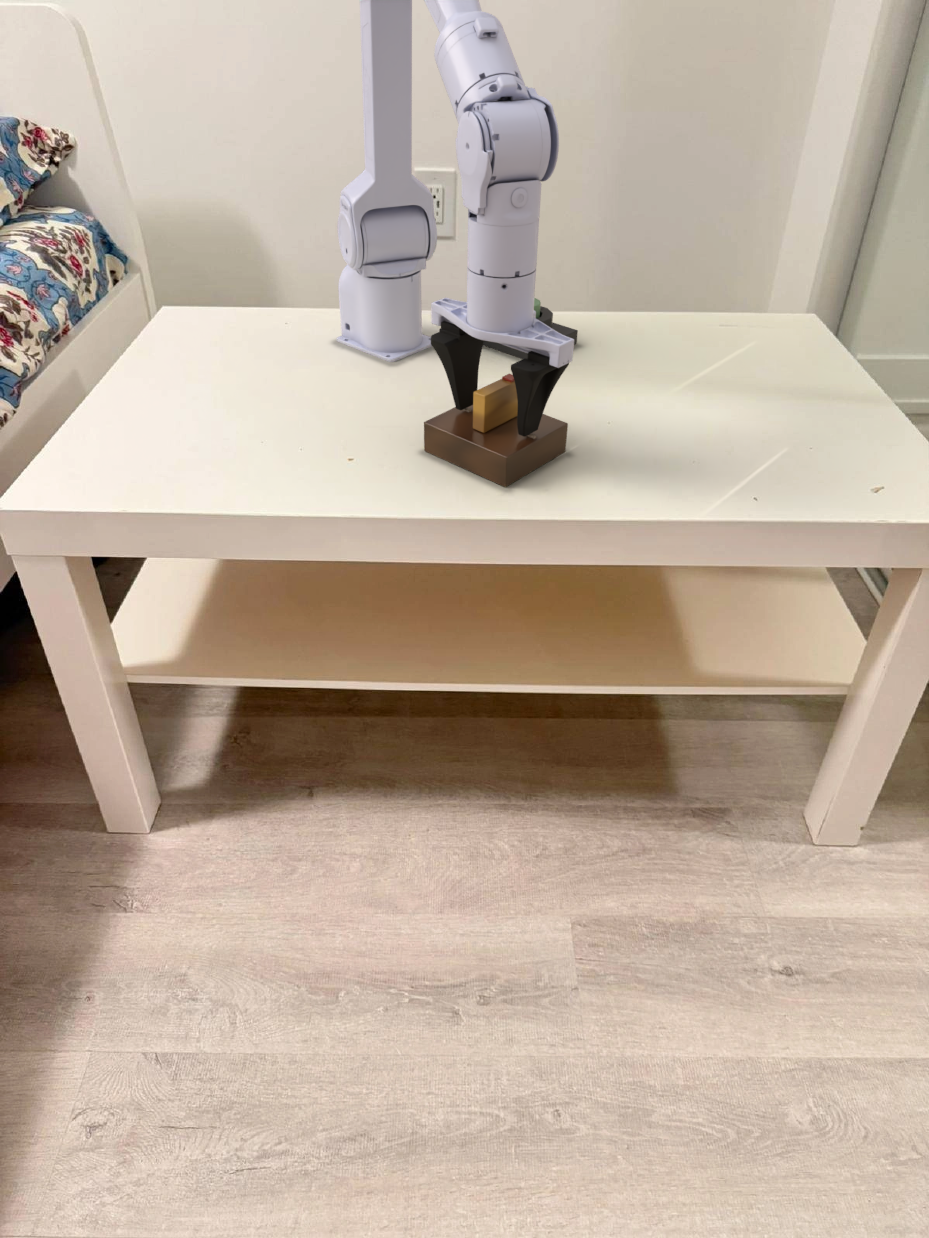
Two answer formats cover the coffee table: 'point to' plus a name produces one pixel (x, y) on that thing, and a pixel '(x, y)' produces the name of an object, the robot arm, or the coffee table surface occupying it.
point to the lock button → (537, 307)
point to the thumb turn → (495, 404)
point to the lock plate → (493, 445)
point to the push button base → (545, 318)
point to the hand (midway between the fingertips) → (496, 418)
